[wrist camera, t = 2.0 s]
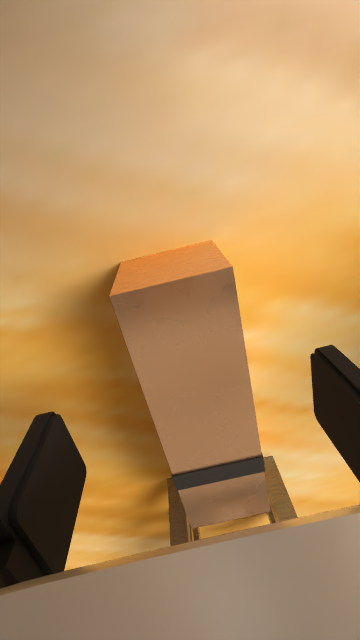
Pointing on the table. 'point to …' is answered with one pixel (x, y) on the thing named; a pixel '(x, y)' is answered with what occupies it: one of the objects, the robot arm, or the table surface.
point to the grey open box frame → (278, 512)
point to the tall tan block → (195, 377)
